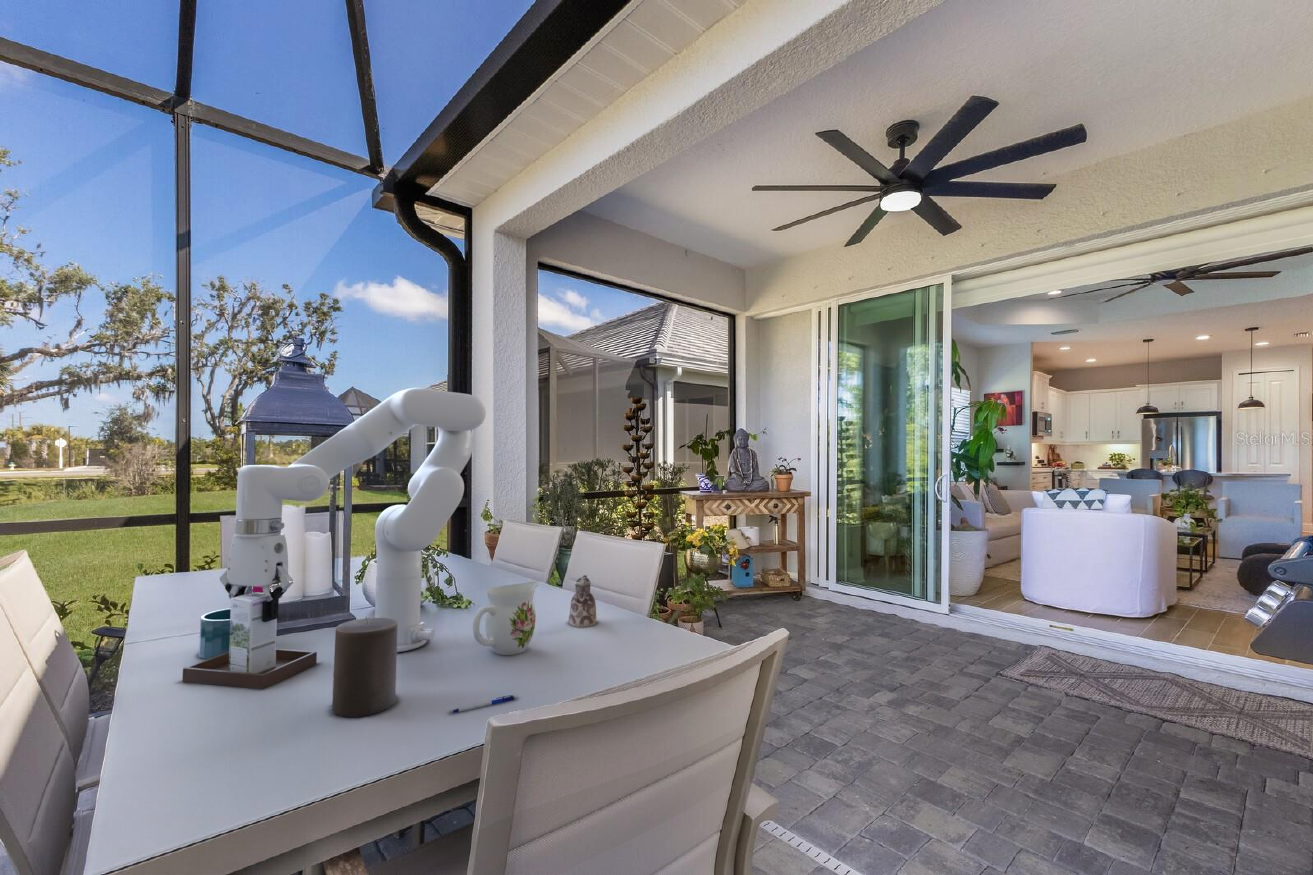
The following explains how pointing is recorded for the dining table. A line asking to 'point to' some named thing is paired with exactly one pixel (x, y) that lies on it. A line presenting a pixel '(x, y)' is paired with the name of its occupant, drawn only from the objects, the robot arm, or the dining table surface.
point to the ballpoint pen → (485, 703)
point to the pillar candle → (364, 666)
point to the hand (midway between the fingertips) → (254, 618)
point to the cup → (214, 633)
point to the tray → (219, 673)
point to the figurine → (582, 605)
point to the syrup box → (251, 635)
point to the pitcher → (508, 618)
